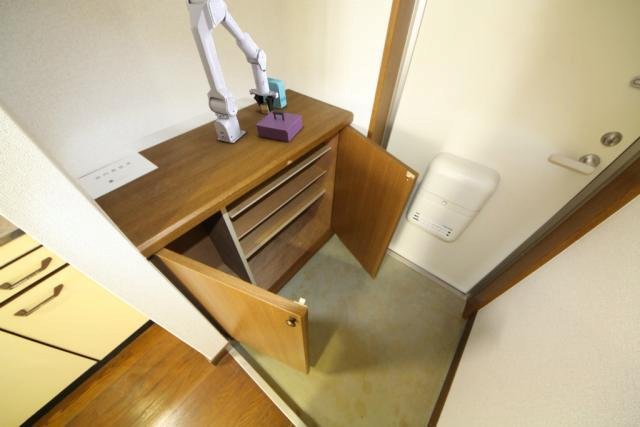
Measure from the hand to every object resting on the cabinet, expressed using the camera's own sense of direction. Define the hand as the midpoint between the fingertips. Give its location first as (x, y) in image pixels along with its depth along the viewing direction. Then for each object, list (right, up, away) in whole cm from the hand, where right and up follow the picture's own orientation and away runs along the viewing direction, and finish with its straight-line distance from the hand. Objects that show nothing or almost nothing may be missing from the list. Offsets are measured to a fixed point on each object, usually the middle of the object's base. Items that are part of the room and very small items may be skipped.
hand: (267, 111), depth 110 cm
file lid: (+9, -12, -17) cm, 23 cm away
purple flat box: (+9, -15, -13) cm, 22 cm away
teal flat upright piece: (+3, +5, +5) cm, 8 cm away
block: (0, 0, 0) cm, 0 cm away
